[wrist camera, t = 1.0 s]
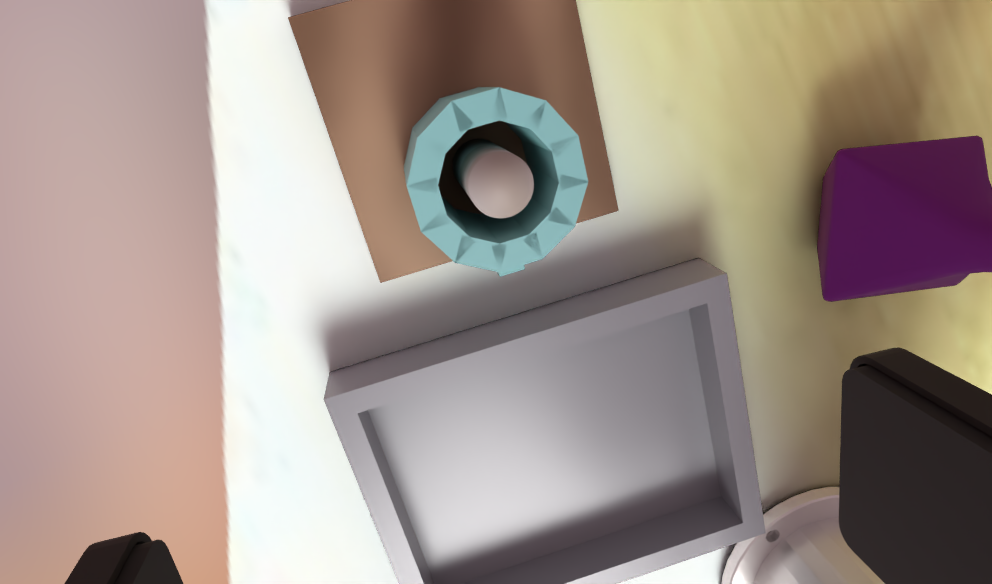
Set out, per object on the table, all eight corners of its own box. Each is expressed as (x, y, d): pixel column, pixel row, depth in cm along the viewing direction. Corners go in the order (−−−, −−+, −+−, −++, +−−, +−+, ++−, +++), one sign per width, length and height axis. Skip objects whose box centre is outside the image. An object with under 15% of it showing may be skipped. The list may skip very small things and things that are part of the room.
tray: (698, 257, 34) (726, 273, 31) (738, 500, 39) (765, 533, 36) (329, 372, 32) (323, 399, 30) (423, 606, 38) (425, 648, 35)
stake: (557, -54, 28) (613, -101, 21) (611, 207, 32) (674, 241, 25) (291, 19, 27) (256, -4, 20) (380, 277, 31) (377, 332, 24)
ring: (529, 72, 28) (563, 68, 23) (569, 241, 31) (609, 275, 26) (386, 113, 28) (385, 119, 22) (439, 281, 31) (450, 325, 25)
